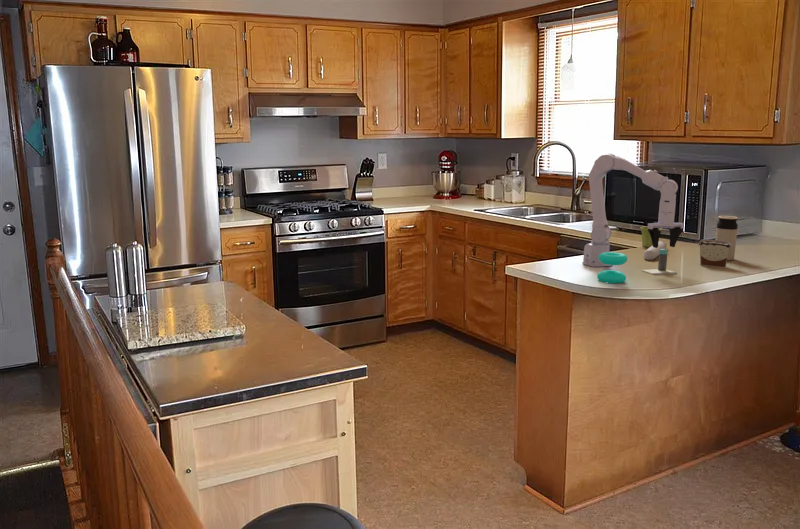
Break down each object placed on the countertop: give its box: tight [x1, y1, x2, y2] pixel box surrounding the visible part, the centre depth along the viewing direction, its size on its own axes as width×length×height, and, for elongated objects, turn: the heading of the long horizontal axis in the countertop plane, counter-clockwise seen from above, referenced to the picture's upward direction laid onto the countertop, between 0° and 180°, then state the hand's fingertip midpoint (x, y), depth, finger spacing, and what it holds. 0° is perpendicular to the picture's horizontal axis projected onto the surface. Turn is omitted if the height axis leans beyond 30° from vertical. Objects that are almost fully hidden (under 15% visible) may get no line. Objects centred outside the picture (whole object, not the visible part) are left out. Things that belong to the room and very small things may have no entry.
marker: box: [657, 248, 669, 271], centre depth 276 cm, size 3×3×8 cm
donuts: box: [596, 251, 628, 284], centre depth 257 cm, size 10×10×10 cm
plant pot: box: [639, 226, 662, 248], centre depth 332 cm, size 9×9×9 cm
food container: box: [698, 239, 732, 269], centre depth 289 cm, size 12×6×10 cm, turn 59°
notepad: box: [641, 268, 678, 276], centre depth 274 cm, size 10×8×1 cm
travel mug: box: [714, 215, 738, 261], centre depth 302 cm, size 8×8×18 cm
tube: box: [643, 240, 668, 261], centre depth 309 cm, size 5×5×25 cm
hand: (663, 247), depth 275 cm, fingers open, 7 cm apart
